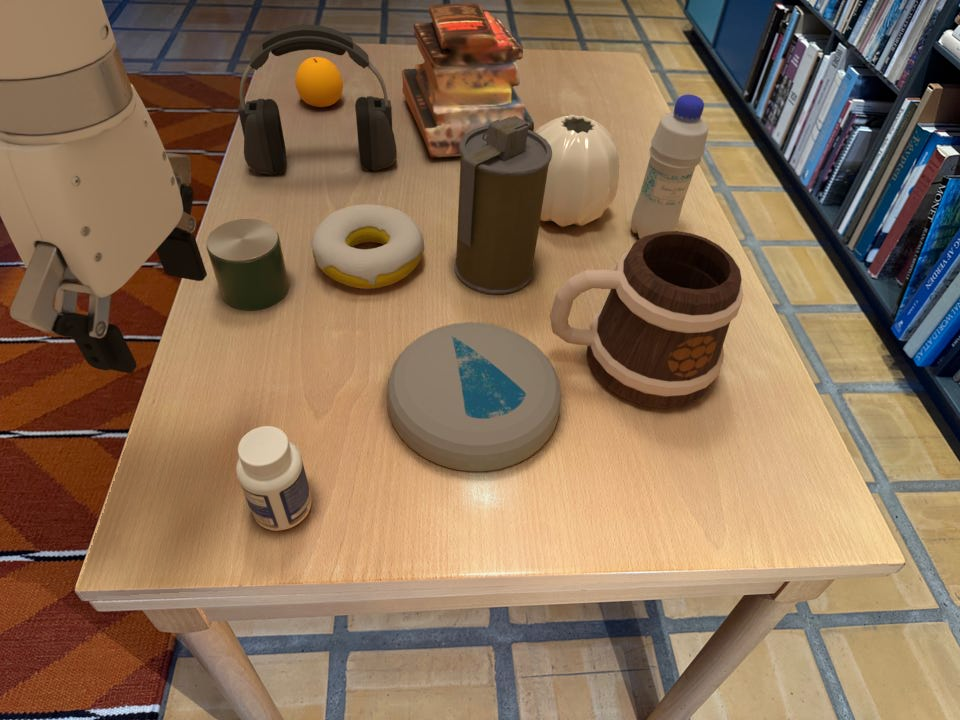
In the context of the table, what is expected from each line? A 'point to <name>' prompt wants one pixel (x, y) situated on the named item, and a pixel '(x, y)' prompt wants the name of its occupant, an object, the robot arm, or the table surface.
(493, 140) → the canister
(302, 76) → the orange
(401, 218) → the donut
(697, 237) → the mug
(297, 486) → the pill bottle
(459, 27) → the book
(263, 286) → the tin can
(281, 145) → the headphones
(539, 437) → the frisbee
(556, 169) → the vase
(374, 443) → the table surface
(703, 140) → the bottle
